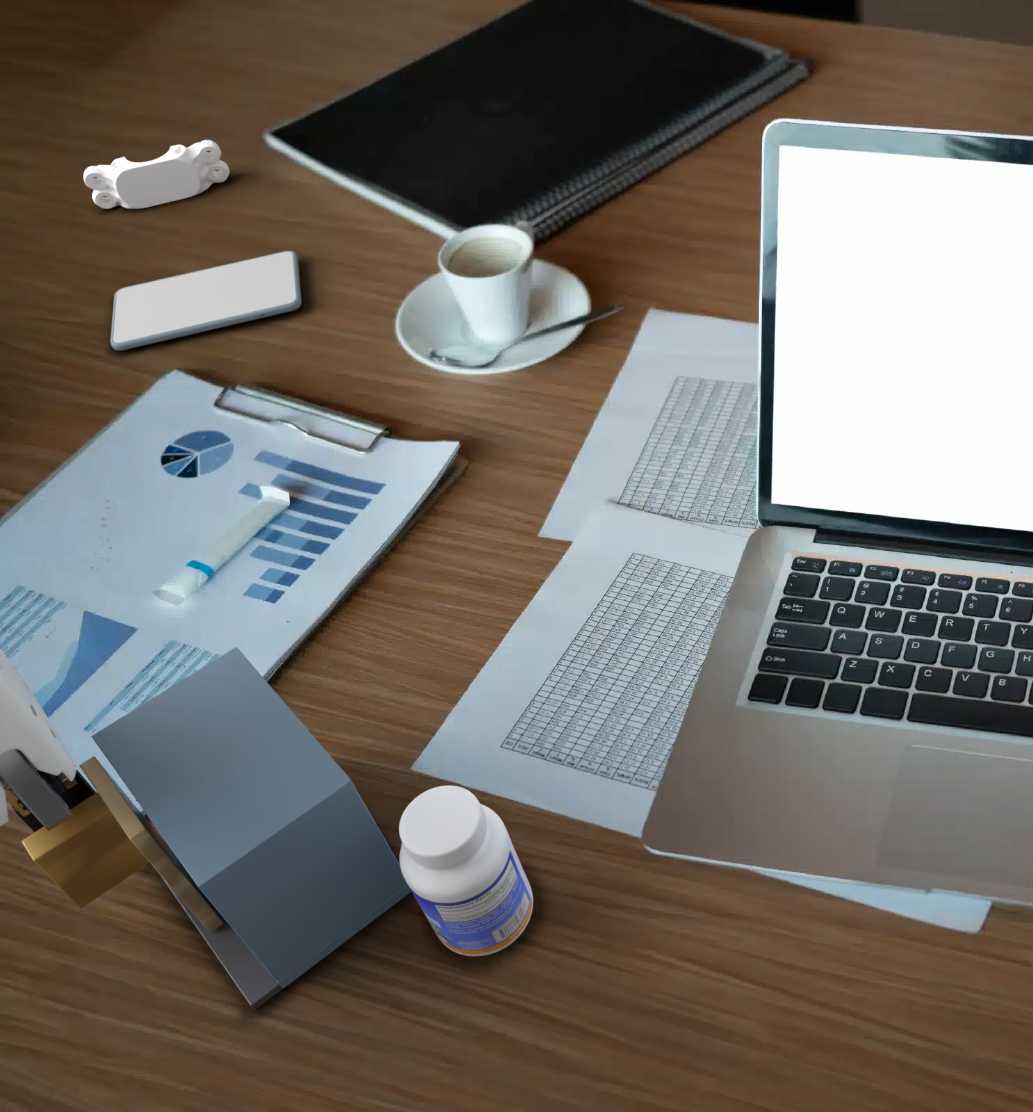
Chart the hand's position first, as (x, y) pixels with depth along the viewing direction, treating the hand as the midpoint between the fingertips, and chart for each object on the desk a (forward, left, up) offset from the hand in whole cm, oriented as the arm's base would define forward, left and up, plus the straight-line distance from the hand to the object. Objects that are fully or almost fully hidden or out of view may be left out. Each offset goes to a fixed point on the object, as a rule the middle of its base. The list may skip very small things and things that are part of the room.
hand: (76, 823), depth 70 cm
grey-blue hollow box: (+7, -7, -5) cm, 11 cm away
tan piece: (0, -5, -4) cm, 6 cm away
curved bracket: (+33, +65, -5) cm, 73 cm away
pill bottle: (+13, -17, -5) cm, 22 cm away
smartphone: (+28, +46, -5) cm, 54 cm away
